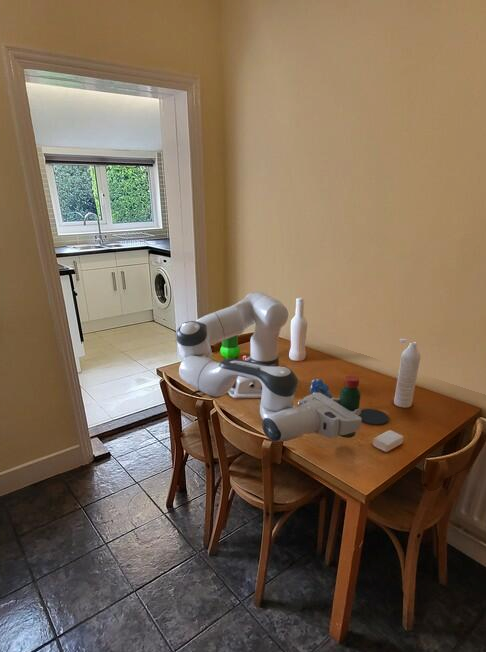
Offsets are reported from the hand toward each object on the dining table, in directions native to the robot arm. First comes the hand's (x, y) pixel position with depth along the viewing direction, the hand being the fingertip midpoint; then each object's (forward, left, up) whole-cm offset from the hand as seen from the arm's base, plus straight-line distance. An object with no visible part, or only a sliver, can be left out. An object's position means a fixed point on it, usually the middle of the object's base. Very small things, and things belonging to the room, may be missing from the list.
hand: (351, 405), depth 126 cm
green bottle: (-1, 0, -9) cm, 10 cm away
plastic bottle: (-22, +86, -15) cm, 90 cm away
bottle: (+10, +77, -15) cm, 79 cm away
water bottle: (+33, +23, -15) cm, 43 cm away
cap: (-1, 0, +9) cm, 9 cm away
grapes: (0, +25, -15) cm, 29 cm away
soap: (+13, -3, -15) cm, 20 cm away
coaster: (+17, +15, -15) cm, 27 cm away
